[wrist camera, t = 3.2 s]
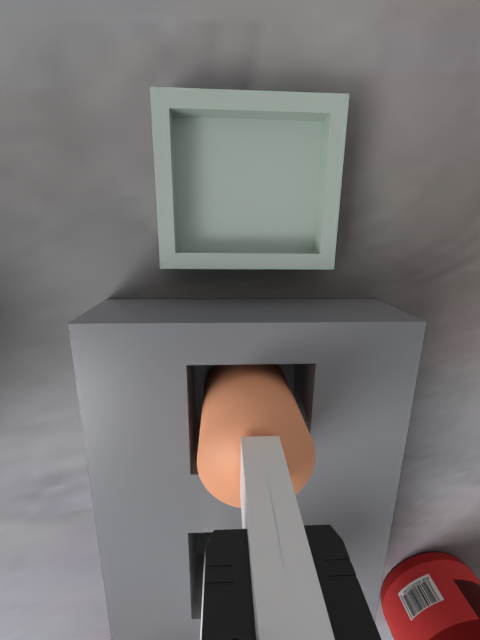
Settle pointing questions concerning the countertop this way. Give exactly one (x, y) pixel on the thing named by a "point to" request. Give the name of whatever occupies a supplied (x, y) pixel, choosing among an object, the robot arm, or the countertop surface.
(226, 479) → the plunger
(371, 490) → the housing
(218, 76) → the countertop surface
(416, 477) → the countertop surface
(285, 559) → the robot arm
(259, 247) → the tray
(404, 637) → the canned food
